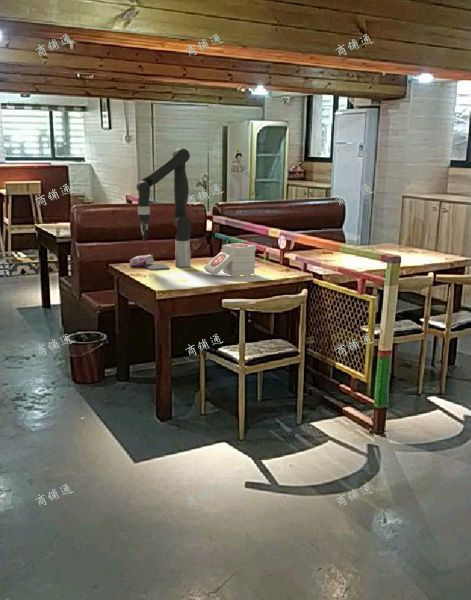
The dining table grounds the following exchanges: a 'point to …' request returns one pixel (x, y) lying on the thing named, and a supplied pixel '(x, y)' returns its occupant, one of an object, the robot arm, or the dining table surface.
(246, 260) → the stack of white boxes
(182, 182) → the robot arm
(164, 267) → the mat
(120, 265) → the dining table surface
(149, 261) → the candy bar box
